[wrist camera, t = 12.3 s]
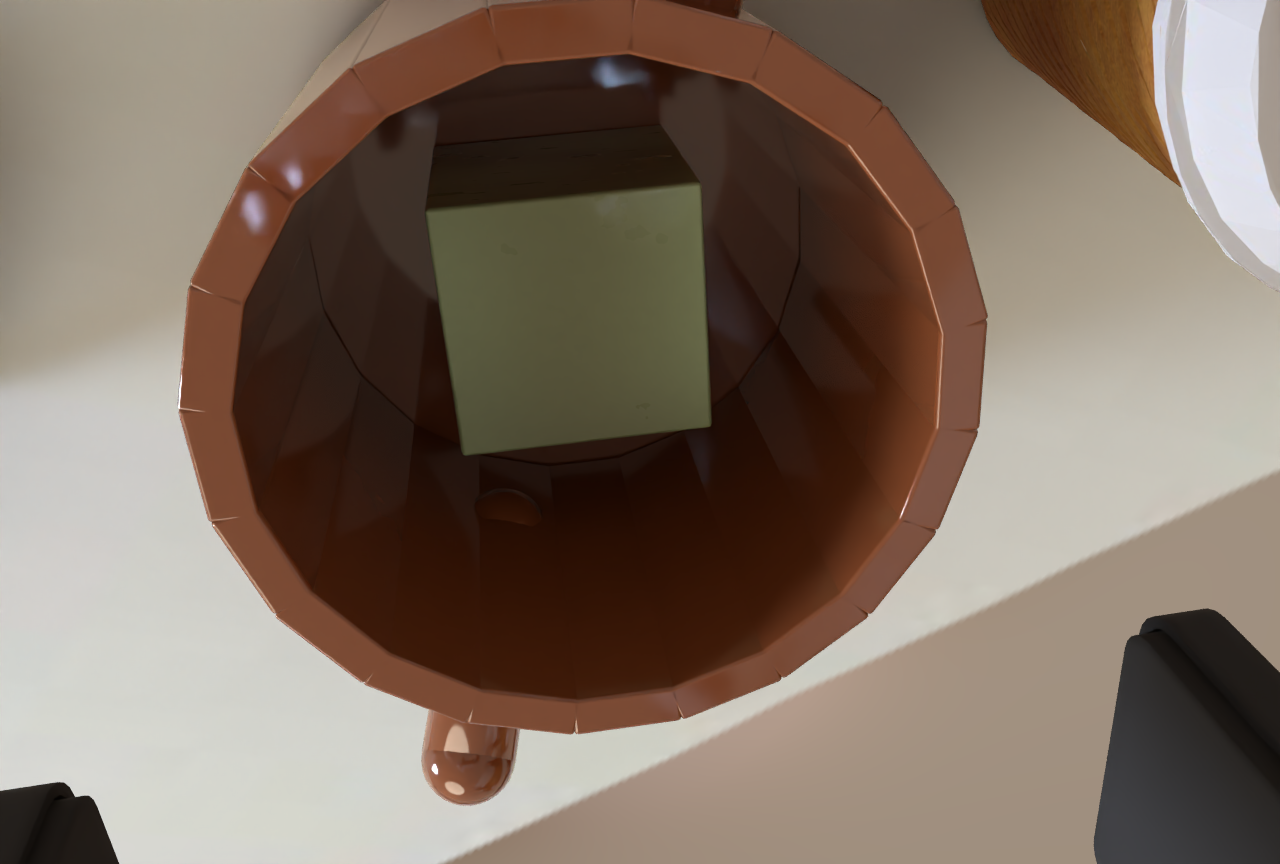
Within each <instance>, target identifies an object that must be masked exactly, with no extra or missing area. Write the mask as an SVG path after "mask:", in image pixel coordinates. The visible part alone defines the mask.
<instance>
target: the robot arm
mask: <svg viewBox="0 0 1280 864" xmlns="http://www.w3.org/2000/svg"><path fill="white" fill-rule="evenodd" d="M1094 851H1095V857H1096V861H1097V864H1280V672H1279V671H1278V670H1277V669H1275V668H1274V667H1273V665H1272V664H1271V663H1270V662H1269V661H1268V660H1267V659H1266V658H1265V657H1264V656H1263V655H1261V653H1260V652H1259V651H1258V650H1256V648H1255V647H1254V646H1253V645H1251V643H1250V642H1249V641H1248V640H1247V639H1245V637H1244V636H1243V635H1242V634H1240V632H1239V631H1238V630H1237V629H1236V628H1235V627H1234V626H1233V625H1232V624H1231V623H1230V622H1229V621H1228V620H1226V618H1225V617H1223V616H1222V615H1221V614H1219V613H1218V612H1216V611H1215V610H1211V609H1200V610H1194V611H1187V612H1181V613H1174V614H1167V615H1161V616H1154V617H1151V618H1148V619H1146V621H1145V622H1144V623H1143V624H1142V627H1141V630H1140V633H1139V635H1135V636H1132V637H1130V638H1129V640H1128V641H1127V643H1126V647H1125V652H1124V658H1123V664H1122V670H1121V676H1120V682H1119V688H1118V695H1117V701H1116V707H1115V713H1114V719H1113V725H1112V731H1111V737H1110V744H1109V750H1108V756H1107V762H1106V769H1105V775H1104V780H1103V787H1102V793H1101V799H1100V805H1099V812H1098V817H1097V824H1096V830H1095V836H1094ZM0 864H119V862H118V860H117V857H116V854H115V852H114V849H113V847H112V844H111V841H110V839H109V836H108V834H107V831H106V829H105V826H104V823H103V821H102V818H101V816H100V813H99V810H98V808H97V806H96V804H95V802H94V800H93V799H92V798H91V797H90V796H80V797H75V796H74V794H73V792H72V791H71V789H70V787H69V786H67V785H66V784H65V783H61V782H57V783H50V784H43V785H37V786H30V787H23V788H17V789H10V790H4V791H0Z"/></svg>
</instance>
